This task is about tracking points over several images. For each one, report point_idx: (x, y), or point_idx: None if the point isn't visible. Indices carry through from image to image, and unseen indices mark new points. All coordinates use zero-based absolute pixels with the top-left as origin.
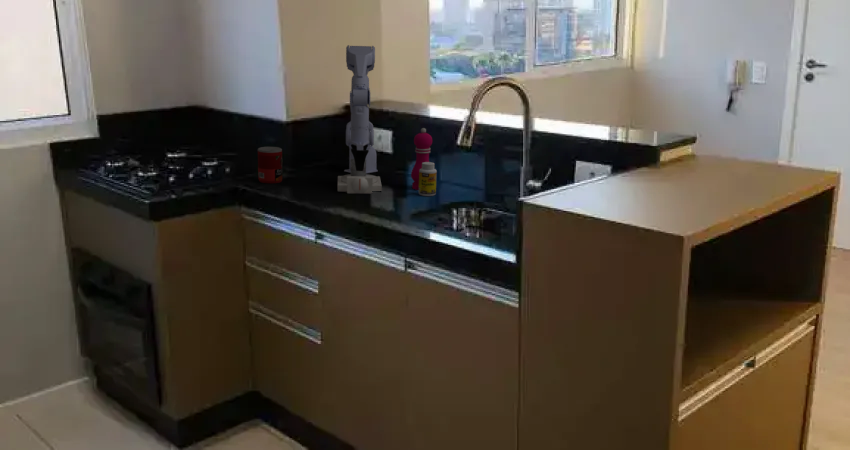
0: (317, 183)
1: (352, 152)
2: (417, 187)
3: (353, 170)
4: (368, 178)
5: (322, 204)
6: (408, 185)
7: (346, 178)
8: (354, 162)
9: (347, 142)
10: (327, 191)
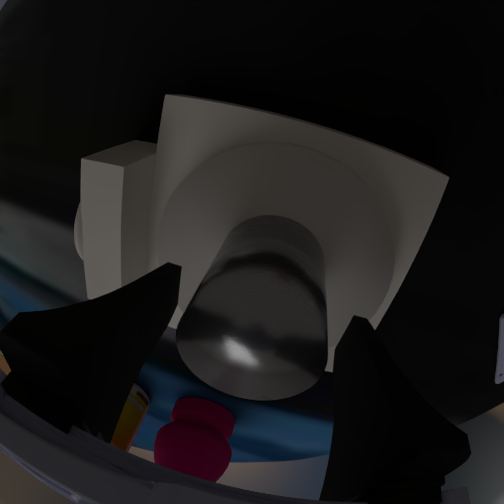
0: (425, 37)
1: (15, 317)
2: (178, 405)
3: (224, 252)
4: (86, 278)
5: (9, 38)
6: (256, 407)
7: (266, 181)
8: (195, 298)
9: (174, 485)
10: (194, 38)
